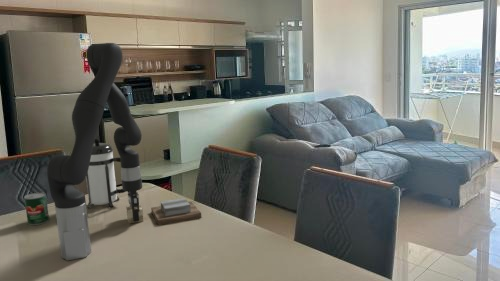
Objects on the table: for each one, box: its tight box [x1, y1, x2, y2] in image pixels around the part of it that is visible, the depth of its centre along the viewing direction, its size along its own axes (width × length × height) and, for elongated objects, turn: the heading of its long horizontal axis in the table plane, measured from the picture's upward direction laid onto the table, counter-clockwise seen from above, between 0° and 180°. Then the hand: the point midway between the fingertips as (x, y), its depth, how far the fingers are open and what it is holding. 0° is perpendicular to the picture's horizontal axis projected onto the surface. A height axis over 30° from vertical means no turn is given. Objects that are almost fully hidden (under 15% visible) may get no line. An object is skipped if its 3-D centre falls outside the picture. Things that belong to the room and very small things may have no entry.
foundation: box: [151, 197, 202, 226], centre depth 175 cm, size 16×17×5 cm
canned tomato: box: [23, 192, 50, 226], centre depth 173 cm, size 8×8×11 cm
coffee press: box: [85, 137, 126, 210], centre depth 190 cm, size 17×16×30 cm
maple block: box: [126, 204, 144, 224], centre depth 171 cm, size 6×6×6 cm
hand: (135, 218), depth 172 cm, fingers closed on maple block, 5 cm apart
